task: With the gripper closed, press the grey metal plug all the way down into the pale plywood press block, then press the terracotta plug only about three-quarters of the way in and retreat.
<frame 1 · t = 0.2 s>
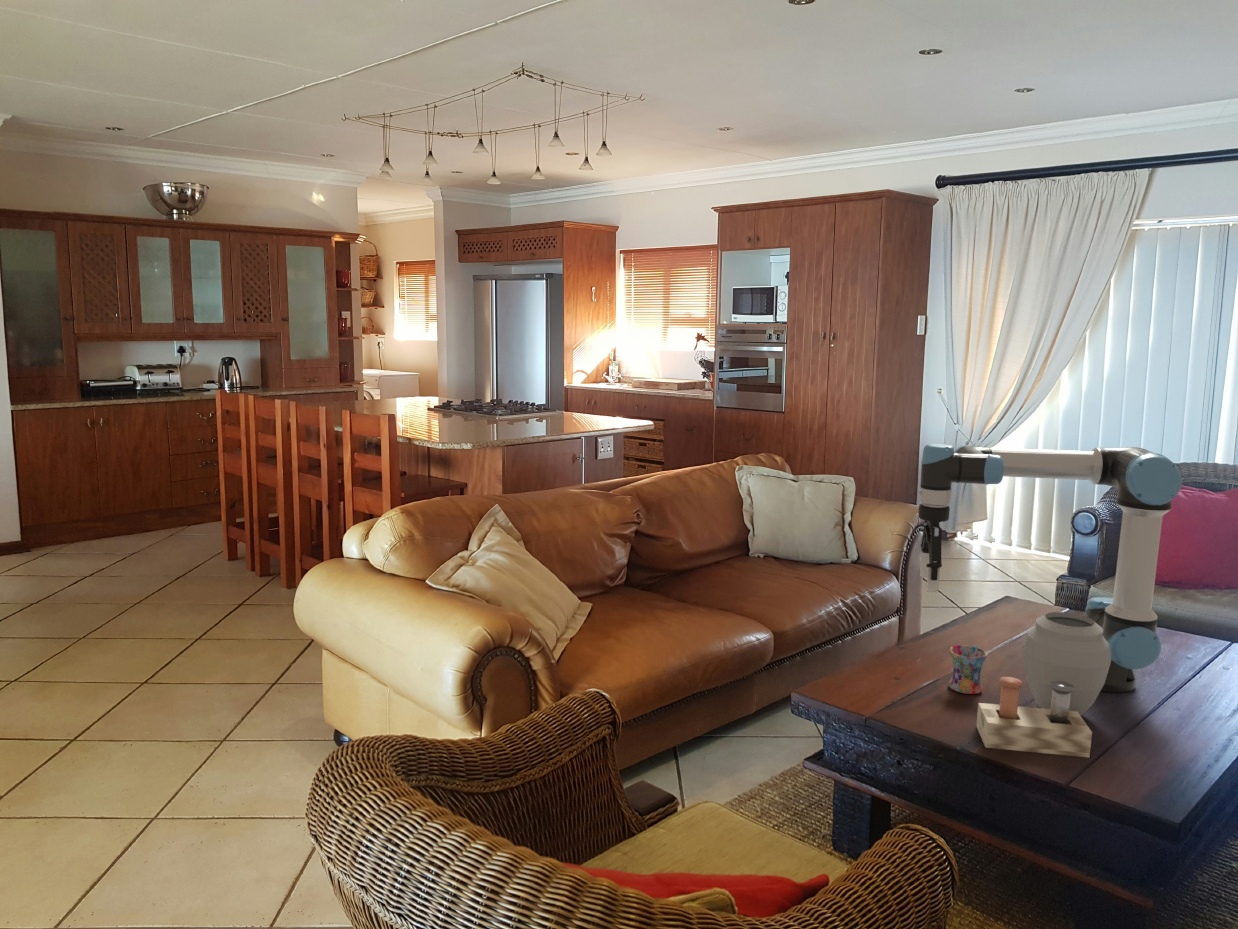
hand: (928, 584, 238), 28 cm above the table, fingers open, 13 cm apart
grey plug: (1060, 703, 209), point 10 cm above the table, slide at 0.0 cm
mug: (967, 689, 241), on the table
press block: (1030, 741, 212), on the table
vase: (1060, 714, 227), on the table
terracotta plug: (1009, 699, 211), point 10 cm above the table, slide at 0.0 cm
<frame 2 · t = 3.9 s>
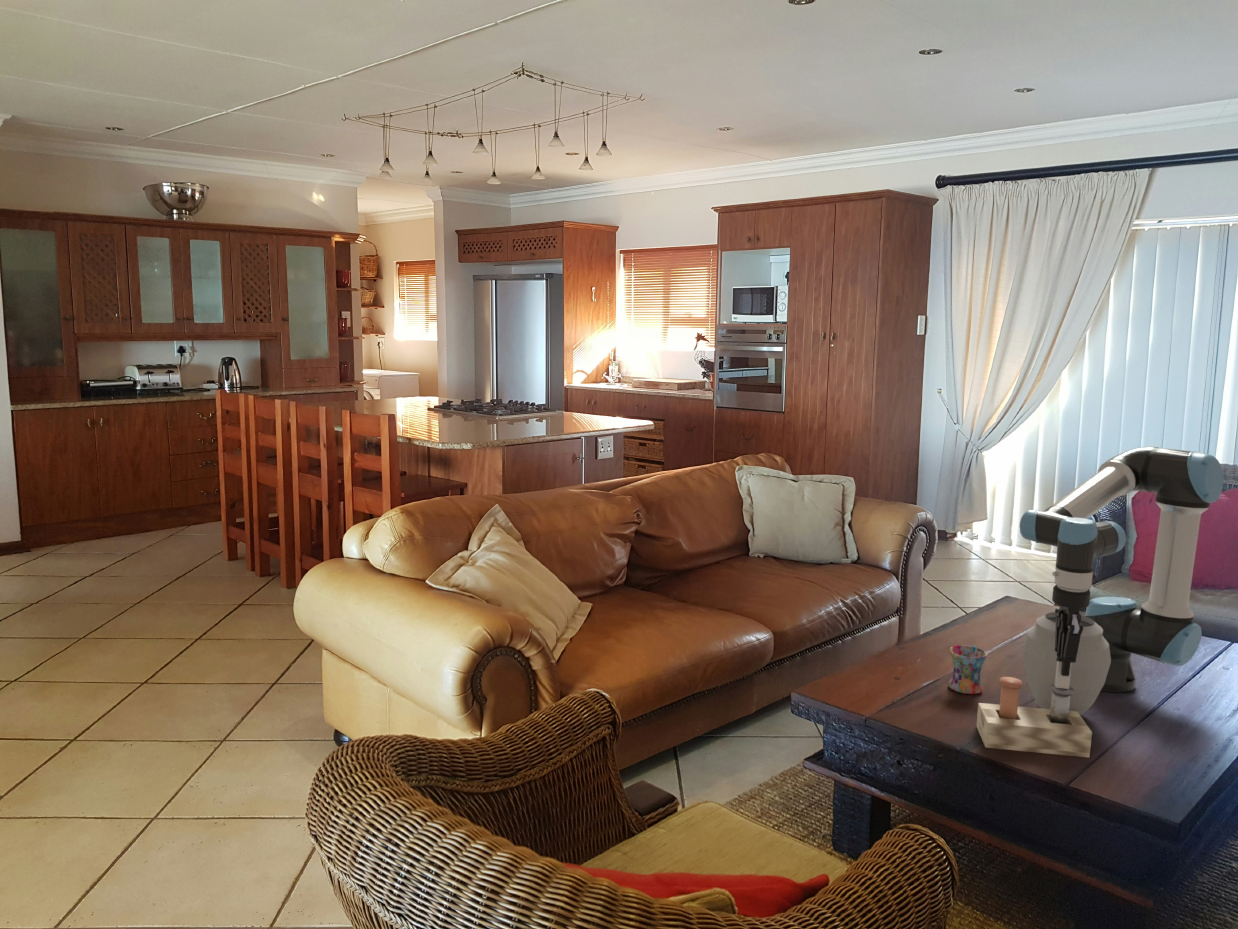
hand: (1061, 687, 208), 14 cm above the table, fingers closed
grey plug: (1060, 706, 209), point 9 cm above the table, slide at 0.7 cm, touching gripper
everything else where it was.
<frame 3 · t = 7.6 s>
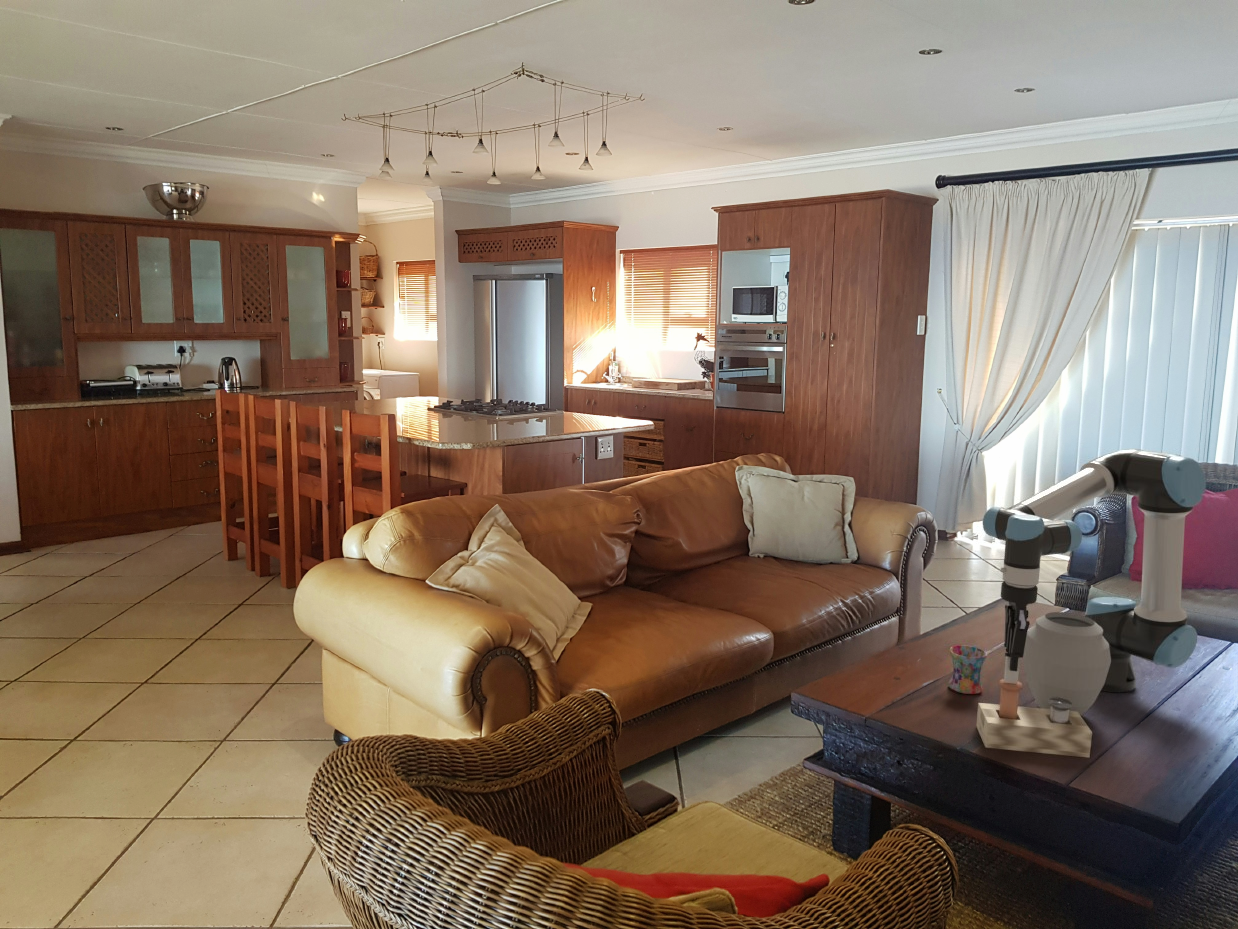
hand: (1010, 682, 210), 14 cm above the table, fingers closed
grey plug: (1058, 720, 210), point 6 cm above the table, slide at 4.0 cm
terracotta plug: (1009, 701, 211), point 9 cm above the table, slide at 0.5 cm, touching gripper
everything else where it was.
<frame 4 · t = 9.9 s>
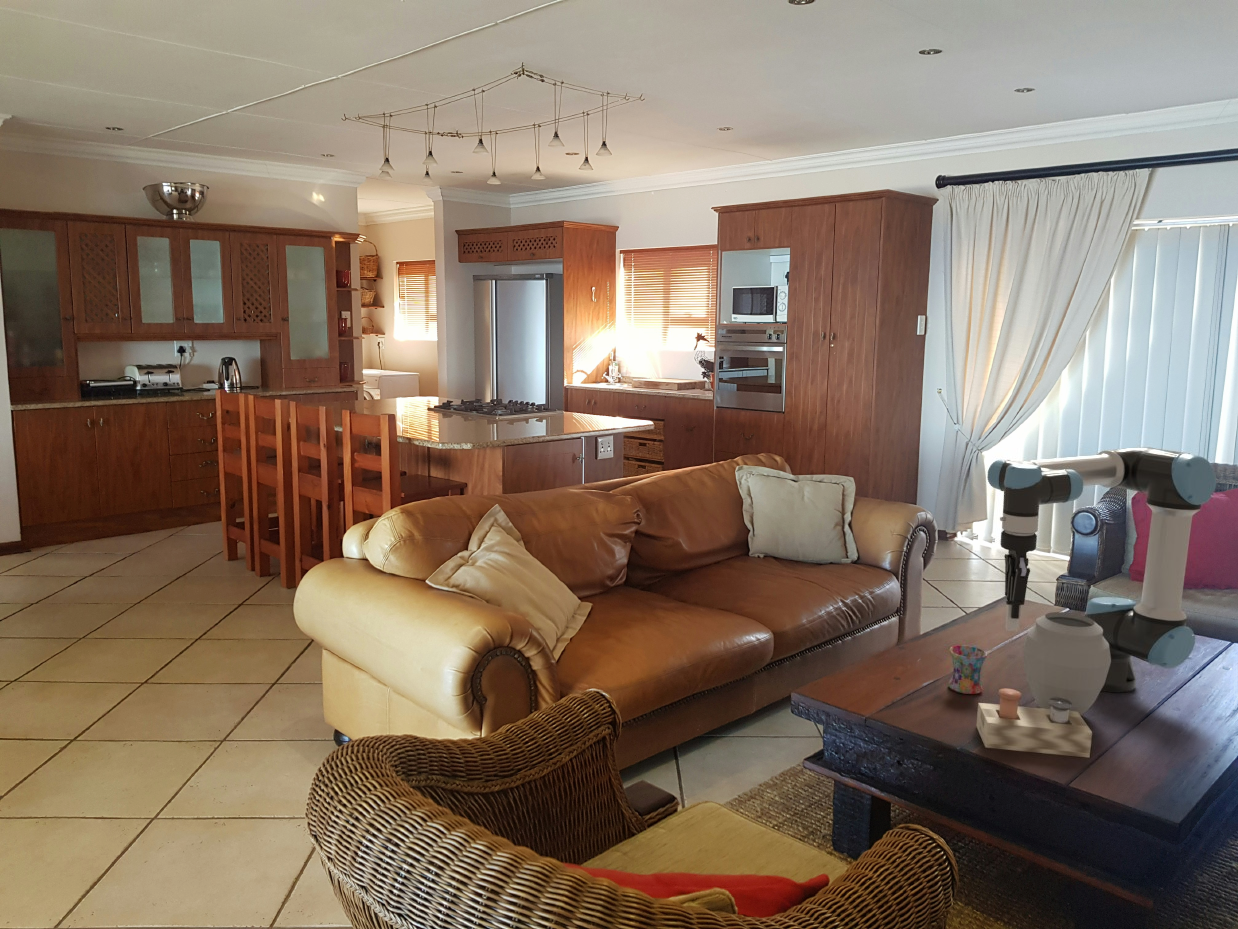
hand: (1012, 629, 213), 25 cm above the table, fingers closed
terracotta plug: (1008, 710, 211), point 7 cm above the table, slide at 2.9 cm
everything else where it was.
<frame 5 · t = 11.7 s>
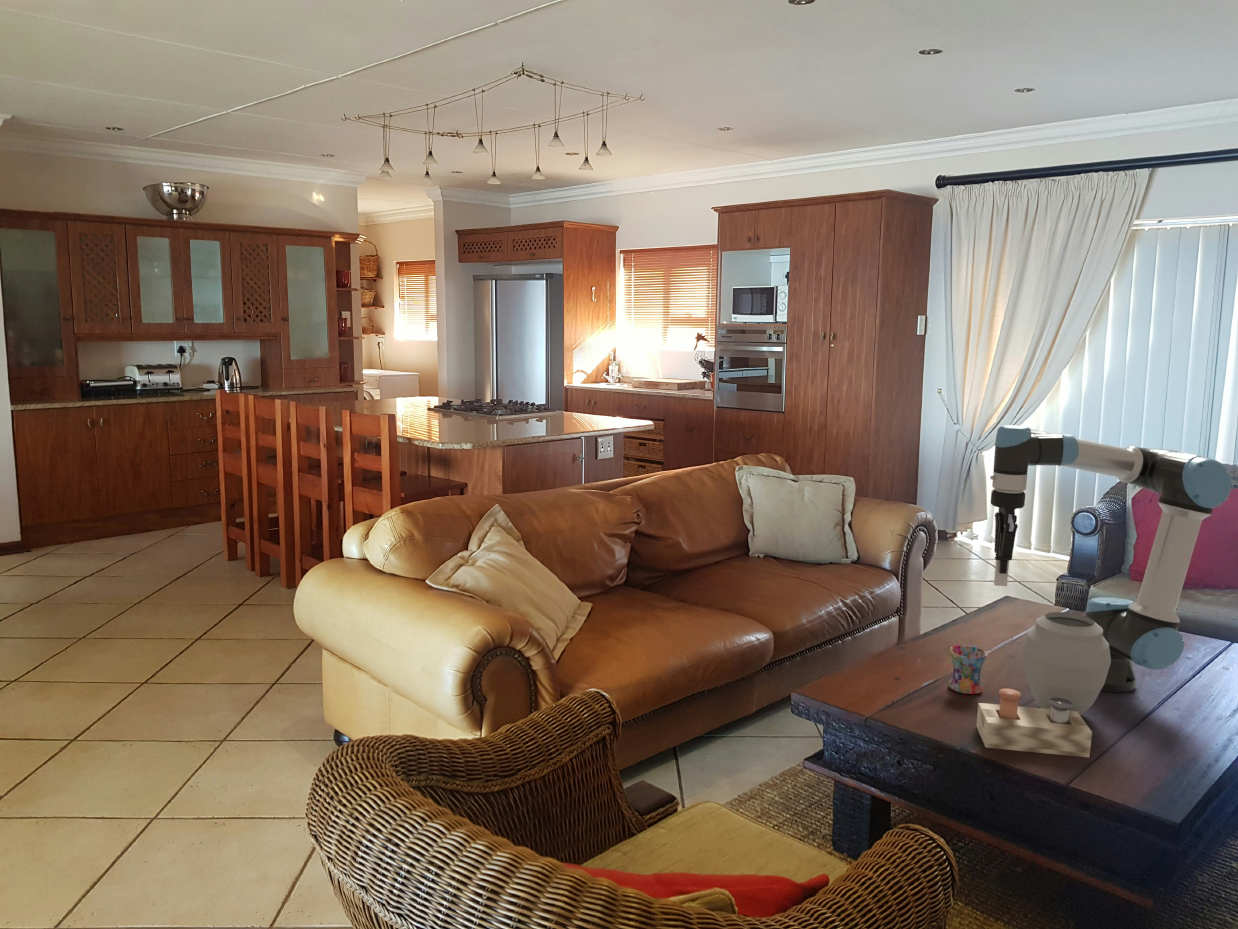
hand: (1000, 584, 223), 32 cm above the table, fingers closed
nothing on the table moved.
at the end: grey plug slide at 4.0 cm; terracotta plug slide at 2.9 cm; terracotta plug touching nothing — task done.
